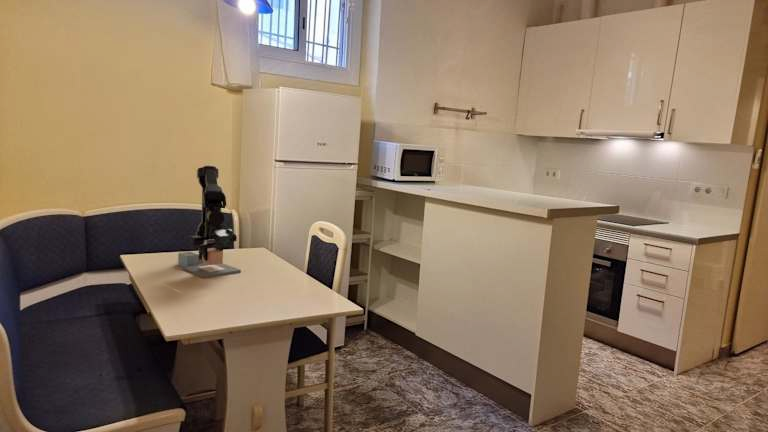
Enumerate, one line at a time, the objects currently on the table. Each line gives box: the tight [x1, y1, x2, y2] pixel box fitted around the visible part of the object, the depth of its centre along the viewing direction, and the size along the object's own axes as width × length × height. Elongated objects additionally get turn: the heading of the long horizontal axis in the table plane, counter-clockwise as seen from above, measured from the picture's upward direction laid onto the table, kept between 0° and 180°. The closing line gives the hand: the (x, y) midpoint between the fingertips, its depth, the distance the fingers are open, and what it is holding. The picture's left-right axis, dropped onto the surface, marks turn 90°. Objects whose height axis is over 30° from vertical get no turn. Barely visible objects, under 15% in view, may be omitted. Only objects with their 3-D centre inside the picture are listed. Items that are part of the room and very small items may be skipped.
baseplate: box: [182, 262, 242, 279], centre depth 204 cm, size 16×16×1 cm
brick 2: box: [201, 247, 224, 265], centre depth 203 cm, size 7×5×5 cm
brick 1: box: [177, 251, 200, 268], centre depth 210 cm, size 7×5×5 cm
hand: (212, 259), depth 203 cm, fingers closed on brick 2, 5 cm apart
